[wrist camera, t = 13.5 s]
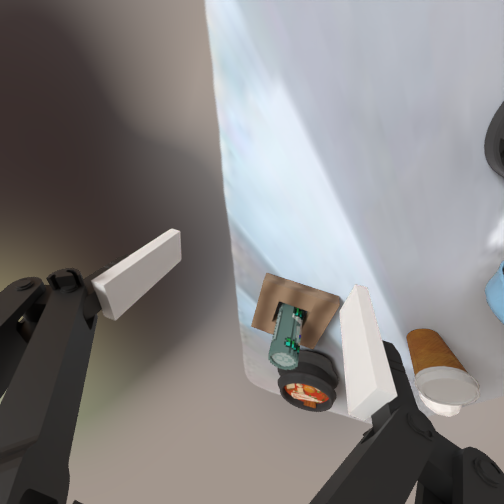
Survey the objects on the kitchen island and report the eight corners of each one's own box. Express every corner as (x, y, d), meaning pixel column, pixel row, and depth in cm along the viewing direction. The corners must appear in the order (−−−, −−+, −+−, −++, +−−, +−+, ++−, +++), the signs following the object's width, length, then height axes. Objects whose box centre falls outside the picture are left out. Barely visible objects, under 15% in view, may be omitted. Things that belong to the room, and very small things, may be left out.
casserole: (331, 397, 70) (332, 427, 63) (277, 382, 75) (273, 408, 68) (345, 353, 57) (348, 384, 51) (279, 338, 62) (274, 364, 56)
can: (302, 318, 55) (296, 372, 43) (280, 314, 57) (268, 365, 45) (304, 302, 52) (299, 355, 40) (281, 298, 54) (268, 348, 42)
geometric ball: (425, 375, 56) (420, 406, 54) (417, 368, 52) (412, 402, 50) (465, 390, 50) (461, 426, 48) (459, 383, 46) (456, 423, 44)
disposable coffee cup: (459, 342, 45) (496, 401, 36) (415, 355, 51) (437, 410, 41) (431, 317, 44) (462, 371, 34) (389, 333, 50) (405, 383, 40)
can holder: (338, 296, 48) (339, 305, 46) (313, 340, 58) (313, 349, 56) (266, 272, 51) (263, 279, 49) (254, 318, 61) (251, 326, 59)
